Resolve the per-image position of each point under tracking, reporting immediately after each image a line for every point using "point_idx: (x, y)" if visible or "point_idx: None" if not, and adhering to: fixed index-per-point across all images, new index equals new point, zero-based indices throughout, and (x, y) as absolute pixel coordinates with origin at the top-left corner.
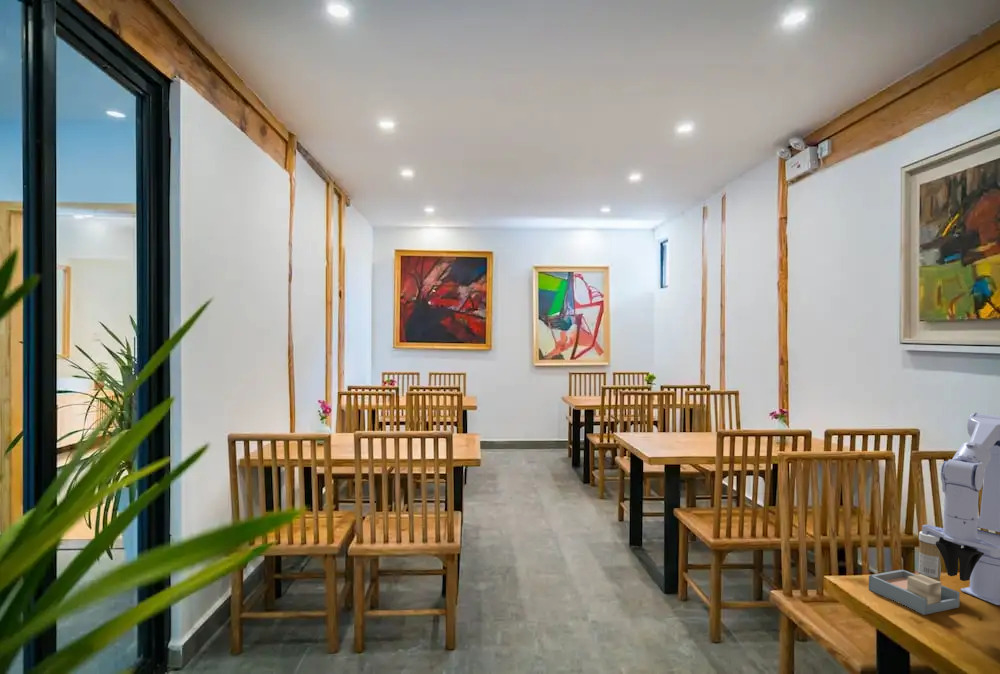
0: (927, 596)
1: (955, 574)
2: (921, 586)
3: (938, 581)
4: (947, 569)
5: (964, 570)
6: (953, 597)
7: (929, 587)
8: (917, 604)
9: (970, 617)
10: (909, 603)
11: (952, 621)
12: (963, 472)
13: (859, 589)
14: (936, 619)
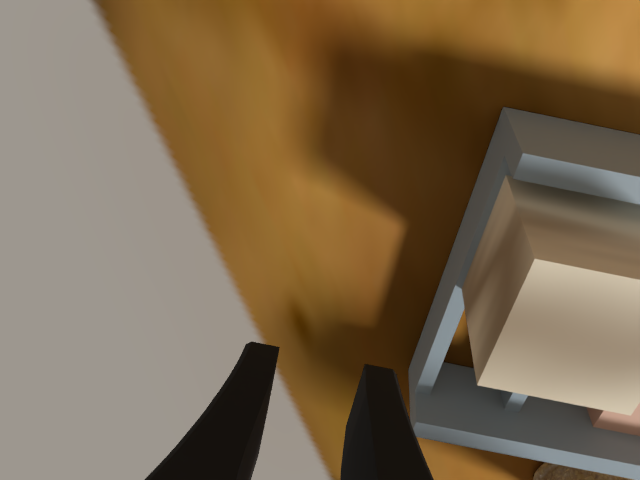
0: (517, 205)
1: (349, 419)
2: (579, 246)
3: (496, 384)
4: (394, 408)
5: (202, 420)
6: (434, 395)
7: (522, 259)
8: (560, 135)
9: (330, 301)
10: (611, 140)
11: (363, 170)
12: None
13: None
14: (431, 112)
